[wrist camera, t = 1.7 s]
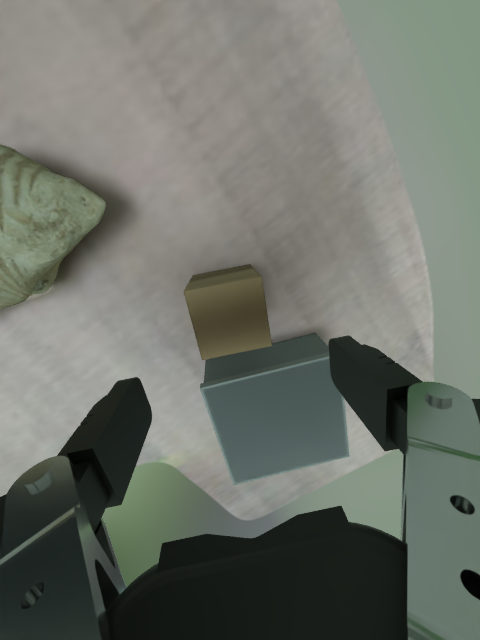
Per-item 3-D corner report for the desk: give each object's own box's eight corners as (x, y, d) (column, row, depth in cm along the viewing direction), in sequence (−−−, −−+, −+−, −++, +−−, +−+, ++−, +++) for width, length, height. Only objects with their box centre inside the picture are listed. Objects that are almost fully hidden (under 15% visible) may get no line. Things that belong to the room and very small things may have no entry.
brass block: (192, 275, 21) (183, 291, 15) (249, 264, 21) (261, 276, 15) (205, 328, 23) (202, 360, 17) (258, 317, 23) (272, 345, 17)
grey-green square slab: (203, 357, 24) (199, 388, 19) (316, 329, 24) (339, 353, 19) (231, 442, 28) (233, 485, 23) (327, 418, 28) (349, 456, 23)
